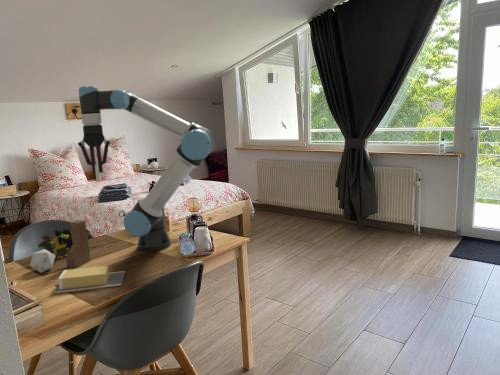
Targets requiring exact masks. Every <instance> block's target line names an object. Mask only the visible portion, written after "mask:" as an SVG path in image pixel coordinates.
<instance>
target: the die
mask: <svg viewBox="0 0 500 375" xmlns="http://www.w3.org/2000/svg"><path fill="white" fill-rule="evenodd" d="M56 256H57V254H54V253H53V254H52V253H51V252H49V251H47V250H45V249H44V248H43V249H41V250H38V251H34V252H33V253H32V257H31V260H30V264H29V267H31V268H33V269H34V270H36V271H38V272H39V273H41V274H42V273H44V272H46V271H49V270H51V269H52V268H53V267H54V262H55V259H56Z"/></svg>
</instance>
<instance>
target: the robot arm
mask: <svg viewBox="0 0 500 375" xmlns="http://www.w3.org/2000/svg"><path fill="white" fill-rule="evenodd" d="M78 99H79V106H80V112H81V116H80V117H81V123H82V125H83V126H82V131H83V137H82V140H80V141H78V143H77V145H78V146H79V148H80V149H81V151H82V154H83V157H84V159H85V162H86V164H87V165H89V166H91V168H92V173H93V174H95V179H96V182H101V181H102V176H101V174H102V173H103V172H104V170H103V165H104V164H106V163H107V159H108V154H109V153H108V152H109V147H110V144H111V142H112V141H111V140H109V139H106V136H104V132H103V125H102V123H103V121H102V115H101V111H102V110H125V111H126V112H129V113H131V114H133V115H135V116H137V117H139V118H141V119H143V120H145V121H147V122H149V123H150V124H153V125H154V126H157V127H158V128H160V129H162V130H165V131H166V132H169V133H170V134H172V135H175V136H176V137H178V138H180V139H181V142H180V144H179V145H178V146H177V147H176V149H175V152H176V155H175V157H174V158H173V159H172V161H171V162H170V164H169V165H168V166H167V168H165V170H164V172H163V173H162V174H161V175H160V177H159V178H158V179H157V181H156V183H155V184H154V185H153V187H152V188H151V189H150V191H149V192H148V193H147V194H146V196H145V197H144V198H140V199H137V202H136V204H135V205H134V206H133V208H132V209H130V210H129V211H128V212H127V213H126V214H125V215H124V218H123V227H124V230H125V231H126V232H127V233H128V234H129V235H131V236H133V237H137V238H138V239H137V240H138V241H137V248H138V250H140V251H144V252H156V251H160V250H164V249H166V248H168V247H170V246H171V245H172V244H171V243H172V242H171V238H170V236H169V233H168V231H167V229H166V218H165V216H166V215H165V206H166V205H167V203H169V201H170V199H171V198H172V197H173V195H175V193H176V192H177V190H178V188H179V187H180V186H181V185H182V184H183V182H184V181H185V180H186V178H187V177H188V176H189V174H191V172H192V170H193V169H194V168H199V167H200V166H201V165H202V163H203V162H204V160H205V159H206V158H207V157H208V156H209V155H210V154H211V153H213V151H214V150H215V148H216V146H217V137H216V134H215V133H214V132H213V131H212V130H210V129H209V128H207V127H205V126H201V125H200V124H198V123H195V122H192V123H191V122H188V121H186V120H184V119H182V118H180V117H178V116H176V115H174V114H172V113H170V112H168V111H166V110H164V109H162V108H160V107H158V106H156V105H155V104H153V103H150V102H149V101H146V100H145V99H142V98H140V97H139V96H137V95H136V94H135V93H133V92H130V91H126V90H125V89H114V90H113V89H112V90H111V89H110V90H99V87H98V86H95V85H89V86H88V85H87V86H85V85H84V86H80V87H79V88H78ZM103 143H104V149H103V157H102V150H101V146H102V144H103ZM85 145H87V147H89V153H90V156H89V154H88V150H87V148H86V146H85ZM95 149H96V155H95ZM96 158H97V163H96Z"/></svg>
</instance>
